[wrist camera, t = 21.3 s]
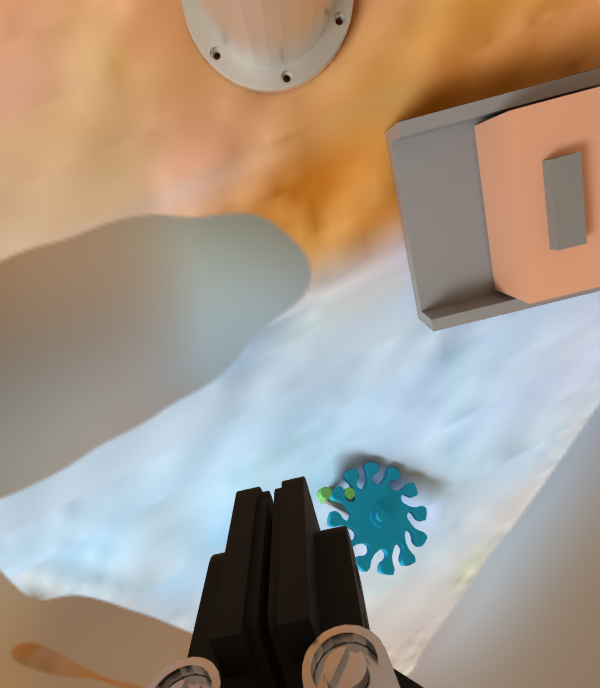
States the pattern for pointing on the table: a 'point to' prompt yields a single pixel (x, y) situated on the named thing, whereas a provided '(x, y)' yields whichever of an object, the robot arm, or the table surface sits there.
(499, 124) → the slider
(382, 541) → the gear
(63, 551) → the table surface
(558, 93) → the grey shallow rimmed piece
